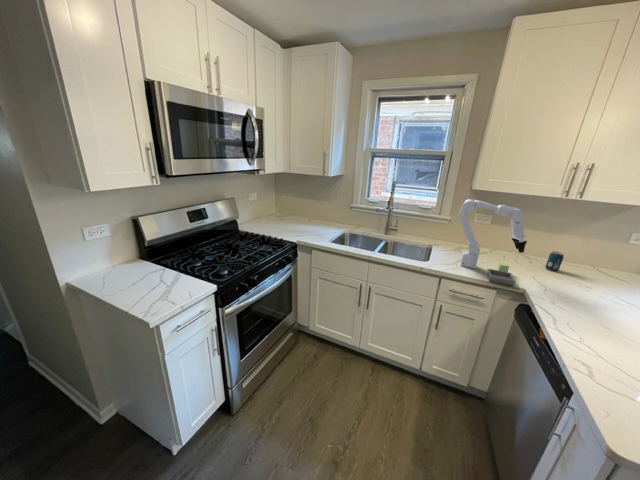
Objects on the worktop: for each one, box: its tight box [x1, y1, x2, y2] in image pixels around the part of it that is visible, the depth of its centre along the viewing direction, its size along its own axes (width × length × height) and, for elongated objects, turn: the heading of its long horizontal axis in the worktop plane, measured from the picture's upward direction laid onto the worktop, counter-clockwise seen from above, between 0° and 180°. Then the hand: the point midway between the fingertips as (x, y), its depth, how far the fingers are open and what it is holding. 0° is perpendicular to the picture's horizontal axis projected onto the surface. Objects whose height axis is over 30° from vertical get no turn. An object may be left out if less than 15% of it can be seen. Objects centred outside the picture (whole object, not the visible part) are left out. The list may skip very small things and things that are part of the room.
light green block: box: [496, 261, 510, 273], centre depth 166 cm, size 5×5×6 cm
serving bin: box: [486, 268, 516, 288], centre depth 157 cm, size 12×12×4 cm
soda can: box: [544, 251, 564, 273], centre depth 174 cm, size 7×7×12 cm
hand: (519, 250), depth 160 cm, fingers open, 7 cm apart
